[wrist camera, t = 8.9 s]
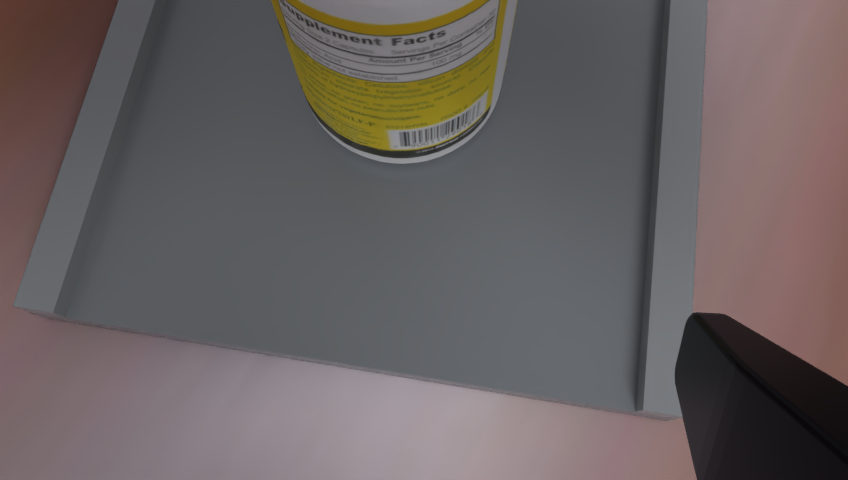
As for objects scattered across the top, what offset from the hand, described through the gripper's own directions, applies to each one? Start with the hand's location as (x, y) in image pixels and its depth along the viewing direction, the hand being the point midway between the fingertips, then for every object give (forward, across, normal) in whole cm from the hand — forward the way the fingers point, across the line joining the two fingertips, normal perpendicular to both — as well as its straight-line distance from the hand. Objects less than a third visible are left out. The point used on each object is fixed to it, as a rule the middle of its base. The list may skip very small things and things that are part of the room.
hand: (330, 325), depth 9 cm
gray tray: (+12, 0, 0) cm, 12 cm away
